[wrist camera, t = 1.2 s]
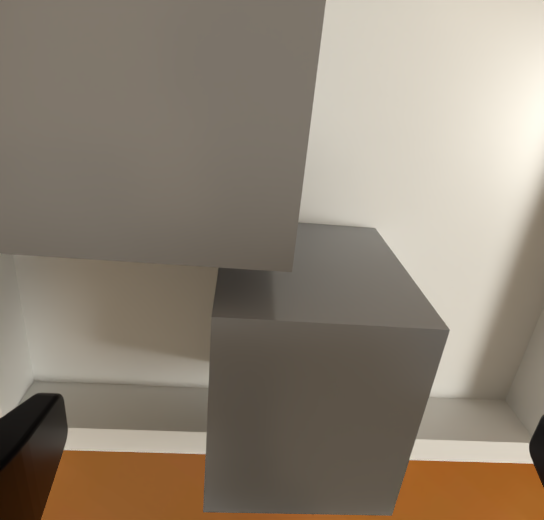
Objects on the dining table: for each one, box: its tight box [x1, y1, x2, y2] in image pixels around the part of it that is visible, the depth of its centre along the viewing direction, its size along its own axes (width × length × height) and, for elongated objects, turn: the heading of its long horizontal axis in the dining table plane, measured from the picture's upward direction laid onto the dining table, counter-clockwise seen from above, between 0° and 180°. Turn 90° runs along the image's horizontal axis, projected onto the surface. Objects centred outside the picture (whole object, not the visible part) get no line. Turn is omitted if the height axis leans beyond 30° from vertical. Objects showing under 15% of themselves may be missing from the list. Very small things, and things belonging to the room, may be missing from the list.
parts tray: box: [0, 0, 544, 463], centre depth 9 cm, size 18×16×2 cm
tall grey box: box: [203, 222, 450, 515], centre depth 10 cm, size 4×4×5 cm
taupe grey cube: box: [0, 0, 326, 272], centre depth 8 cm, size 4×4×5 cm
